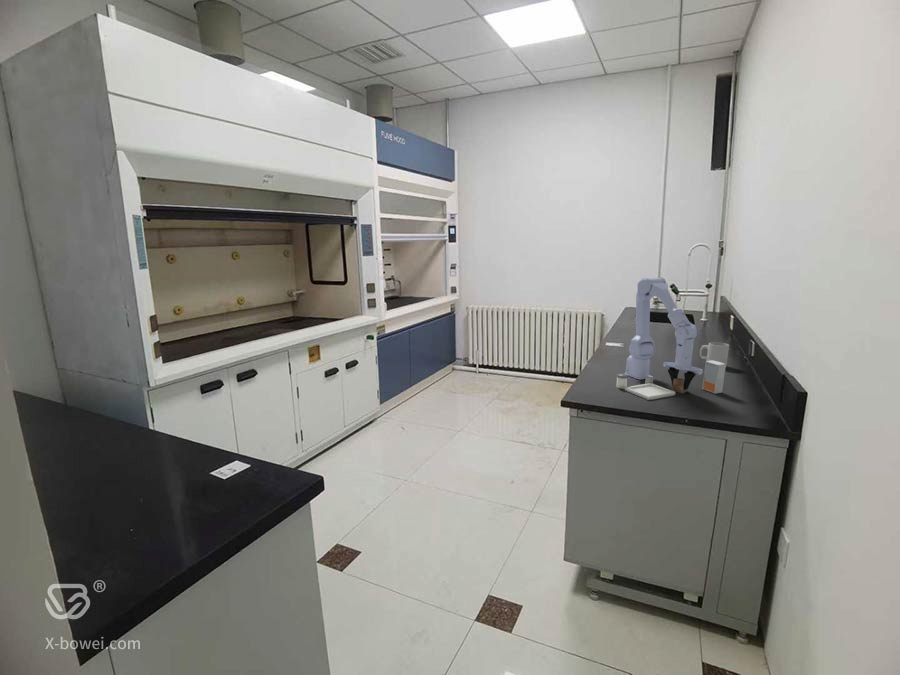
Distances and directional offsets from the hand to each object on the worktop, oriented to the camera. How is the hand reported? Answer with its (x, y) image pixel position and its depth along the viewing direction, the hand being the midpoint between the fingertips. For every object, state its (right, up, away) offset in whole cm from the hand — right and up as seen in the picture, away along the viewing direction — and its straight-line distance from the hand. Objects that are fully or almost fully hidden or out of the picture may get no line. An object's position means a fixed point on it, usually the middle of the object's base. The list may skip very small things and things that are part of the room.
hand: (680, 387), depth 179 cm
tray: (-13, -2, -2) cm, 13 cm away
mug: (+34, +6, +37) cm, 51 cm away
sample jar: (-22, 0, +5) cm, 22 cm away
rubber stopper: (-9, 0, +8) cm, 12 cm away
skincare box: (+13, -2, 0) cm, 13 cm away
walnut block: (0, -1, 0) cm, 2 cm away
